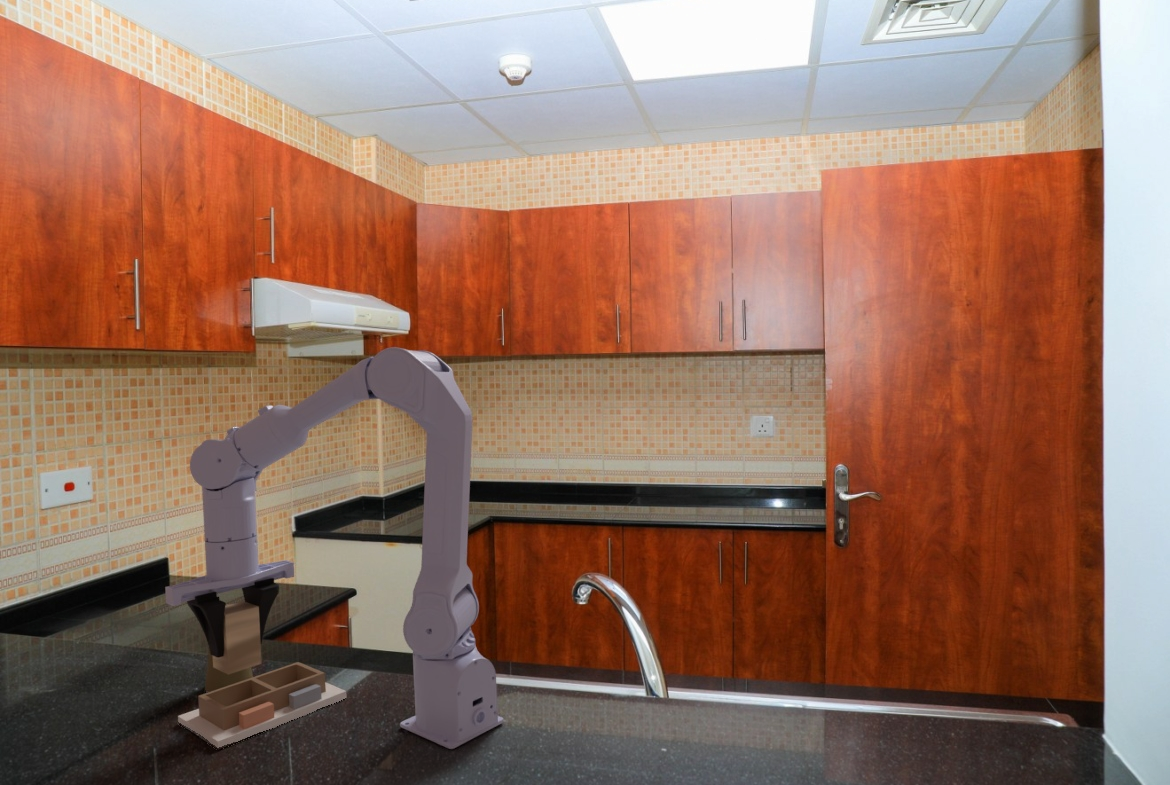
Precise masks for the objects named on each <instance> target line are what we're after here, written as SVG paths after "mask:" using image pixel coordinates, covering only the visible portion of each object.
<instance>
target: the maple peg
mask: <svg viewBox="0 0 1170 785" xmlns="http://www.w3.org/2000/svg"><path fill="white" fill-rule="evenodd" d="M230 604H231V605H227V606H225V611H224V620H223V637H224V656H222V657H218V658H217V657H215V656H213V667H214V668H216V669H218V670H220V671H222V672H224V673H226V674H228V675H229V674H232V673H235V672H238V671H241V670H244V669H247V668H250V667H251V668H253V667H255V666H258V665H261V664H262V646H261V645H262V644H261V642H260V622H259V606H256V605H253V604H250V603H247V602H245V600H243V601H239V602H235V603H230Z"/></svg>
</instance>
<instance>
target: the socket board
mask: <svg viewBox="0 0 1170 785" xmlns="http://www.w3.org/2000/svg"><path fill="white" fill-rule="evenodd" d="M197 698H198V700H197V701H198V708H196V709H194V710H190V711H188V712H186V713H185V712H184V713H182V714H180V715H177V721H178V722H179V723H181V724H182V725H184V726H186V727H188V728H190V729H191V730H193V731H195V732H196V733H198V734H200V735H201V736H203V737H204V738H205V739H207V740H208V741H209V742H210V743H211V744H213V745H215V746H216V747H217V748H219V747H222V746H224V745H227V744H231V743H233V742H238V741H240V740H242V739H245V738H247V737H250V736H252V735H254V734H257V733H259V732H263V731H265V732H267V731H266V730H268V731H270V730H273V729H275V728H277V726H278V727H280V726H282V725H281V724H283V725H285V724H287V722H288V723H290V722H292V721H291V720H293V721H295V720H297V718H298V719H300V718H303V717H305V716H307V714H308V715H310V714H313V713H315V712H317V711H316V710H317V709H320V708H322V707H325V706H328V705H330V706H332V705H335V704H337V703H339V701H340V702H342V701H344V700H343V699H345V698H347V691H346V690H344V689H343V688H340V687H338V686H335V685H333V684H331V683H328V682H326V673H325V672H323V671H322V670H319V669H316V668H314V667H311V666H309V665H307V664H304V663H302V662H299V661H297V662H294V663H291V664H288V665H285V666H282V667H280V668H277V669H273V670H271V671H267V672H265V673H261V674H259V675H256V676H253V677H252V678H249V679H246V680H243V681H241V682H238V683H235V684H232V685H229V686H226V687H223V688H220V689H217V690H214V691H211V692H208V693H205V692H204V693H203V694H200V695H198V696H197ZM341 700H342V701H341ZM345 700H346V699H345ZM336 702H337V703H336ZM334 703H335V704H334ZM331 704H332V705H331ZM328 707H329V706H328ZM325 708H326V707H325ZM320 710H321V709H320ZM314 711H315V712H314ZM312 712H313V713H312ZM309 713H310V714H309ZM302 716H303V717H302ZM299 717H300V718H299ZM294 719H295V720H294ZM289 721H290V722H289ZM178 722H177V723H178ZM284 723H285V724H284ZM279 725H280V726H279ZM272 728H273V729H272ZM269 729H270V730H269ZM263 733H264V732H263ZM238 743H239V742H238Z"/></svg>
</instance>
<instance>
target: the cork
mask: <svg viewBox="0 0 1170 785" xmlns="http://www.w3.org/2000/svg"><path fill="white" fill-rule="evenodd" d="M231 604H232V603H226V605H225V606H227V605H231ZM253 674H254V673H253V670H252V667H250V668H247V669H244V670H241V671H238V672H235V673H232V674H229V675H228V674H226V673H224V672H222V671H220V670H218V669H216V668H214V667H213V655H211V654H210V649H209V648H208V650H207V662H206V671H205V683H204V691H205V690H206V691H209V692H210V691H214V690H217V689H220V688H223V687H226V686H229V685H232V684H235V683H238V682H241V681H243V680H246V679H249V678H252V677H254V675H253Z"/></svg>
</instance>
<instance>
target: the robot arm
mask: <svg viewBox="0 0 1170 785" xmlns="http://www.w3.org/2000/svg"><path fill="white" fill-rule="evenodd" d="M454 377H455V376H454V371H453V369H452V367H450V366H449V365H448V364H447V363H446V362H445V361H444V360H442V359H441V358H440V357H439V356H437V355H436V354H434V353H433V352H431V351H427V350H423V349H422V350H411V349H406V348H401V347H397V346H394V347H393V346H392V347H387V348H384V349H382V350H381V351H379V352H377V354H375V356H370V357H366V358H364V359H362V360H360V361H359V362H358V363H356V364H354V365H353V366H352V367H351V368H349V369H348V370H346V371H345V372H344V373H342V374H341V375H339V376H337V377H336V378H334V379H333V380H331V381H330V382H329V383H327V384H325V385H324V386H322V387H321V388H320V389H317V390H316V391H314V393H312V394H310V395H309V396H307V397H306V398H305V399H303V400H302V401H300V402H298V403H297V404H296V405H294V406H293V407H290V406H288V405H285V404H284V405H283V404H276V405H275V406H273V405H270V404H269V405H264V406H263V407H260V408H259V409H258V410H257V413H258V414H259V415H257V416H256V417H254V418H253V419H251V420H249V421H248V422H246V423H245V424H243V425H241V426H232V427H231V428H229V429H227V430H226V435H225V438H224V439H218V438H217V439H216V438H212V439H206V440H203V442H201V444H200V445H198V446H197V447H196V448H195V449H194V450H193V453H192V454H191V457H190V460H189V469H190V470H189V471H190V473H191V475H192V476H191V477H193V480H194V482H196V483H197V484H198V485H199V486H201V493H202V512H203V513H202V514H203V515H202V516H203V533H204V549H205V552H204V553H205V554H204V555H205V569H206V571H205V573H206V574H205V575H202V576H199V577H196V578H194V579H193V578H192V579H190V580H187V581H182V582H180V583H177V584H174V585H169V586H165V587H164V588H165V604H167V605H169V606H172V607H175V606H179V605H182V604H183V603H185V602H186V603H187V606H188V607H189V608H190V610H191V611H192V613H193V615H194V616H195V618H196V620H197V621H198V623H199V625H200V627H201V629H202V631H203V634H204V635H205V638H206V642H207V646H208V649H210V654H211V655H213V656H215V657H217V658H218V657H222V656H224V637H223V620H224V611H225V605H226V604H227V603H226V602H225V601H223V600H220V596H218V595H219V594H222V593H226V592H230V591H235V590H238V589H241V591H242V595H243V598H244V600H243V601H244V602H247V603H250V604H253V605H256V606H259V622H260V642H261V645H262V644H263V640H264V639H263V638H264V634H265V629H266V624H267V621H268V618H269V615H270V611H271V609H272V607H273V605H274V602H275V601H276V598H277V597H278V595H279V593H280V585H279V583H275V581H277V580H280V579H291V578H295V562H294V561H292V560H287V559H285V560H281V561H275V562H268V563H261V564H259V552H258V551H259V547H258V545H259V544H258V528H257V527H258V526H257V507H256V504H257V503H256V491H257V481H258V478H259V477H260V475H261V474H262V472H263V470H264V469H266V468H268V467H269V466H271V465H273V464H274V463H276V462H278V461H280V460H281V459H282V458H284V457H286V456H288V455H289V454H291V453H293V452H295V451H296V450H298V449H299V448H302V447H303V446H304V445H305V444H306V442H307V440H308V436H309V435H308V434H309V431H310V430H311V429H313V428H315V427H318V426H319V425H321V424H322V423H324V422H326V421H328V420H330V419H331V418H334V417H335V416H338V415H339V414H341V413H342V412H345V411H346V410H349V409H350V408H352V407H354V406H356V405H357V404H360V403H361V402H363V401H366V400H367V401H368V400H380V401H382V402H384V403H386V404H387V405H390V406H391V407H393V408H396V409H398V410H401V411H402V412H405V413H406V414H407V415H408V416H409V417H410V418H412V420H413V421H415V422H416V424H418V425H419V426H420V427H421V428H422V429H423V430H424V431H425V433H426V442H425V444H426V448H425V467H424V468H425V471H424V489H423V490H424V493H423V496H424V497H423V518H422V519H423V520H422V538H421V539H422V540H421V541H422V544H421V567H420V570H419V574H418V576H417V579H416V582H415V584H414V588H413V591H412V602H411V606H410V608H409V611H408V612H407V614H406V616H405V618H404V621H403V626H402V627H403V628H402V632H403V637H404V640H405V642H406V644H407V646H408V647H409V648H410V650H411V651H412V666H413V667H412V668H413V669H412V670H413V688H414V706H415V707H414V708H415V715H414V716H411V717H409V718H407V719H405V720H403V721H401V722H399V726H400V728H402V729H404V730H406V731H409V732H411V733H413V734H415V735H417V736H420V737H422V738H424V739H426V740H429V741H431V742H434V743H436V744H438V745H439V746H442V747H445V748H447V749H450V750H454V749H455V748H457V747H460V746H461V745H464V744H465V743H468V742H469V741H471V740H473V739H474V738H477V737H479V736H480V735H483V734H484V733H486V732H487V731H490V730H492V729H494V728H495V727H497V726H499V725H501V724H503V722H504V717H502V716H501V715H500V716H499V715H498V713H499V712H498V691H497V674H496V673H497V672H496V669H495V667H494V664H493V663H492V662H491V661H490V660H489V659H488V658H486V657H484V656H483V655H482V654H481V653H480V652H479V651H478V649H477V646H476V638H475V634H474V633H473V631H472V627H471V626H472V625H474V624H475V622H476V620H477V618H478V615H479V612H480V611H479V610H480V605H479V599H478V597H477V596H478V595H477V594H476V592H475V590H474V584H473V572H472V570H471V569H470V567H469V566H468V563H467V559H468V535H469V533H468V532H469V516H470V515H469V512H470V490H471V487H470V486H471V465H472V445H473V444H472V443H473V420H474V419H473V413H472V411H471V409H470V406H469V405H468V403H467V401H466V399H465V397H464V395H463V393H462V392H461V389H460V388H459V386H458V384H457V382H456V379H455V378H454Z"/></svg>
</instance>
